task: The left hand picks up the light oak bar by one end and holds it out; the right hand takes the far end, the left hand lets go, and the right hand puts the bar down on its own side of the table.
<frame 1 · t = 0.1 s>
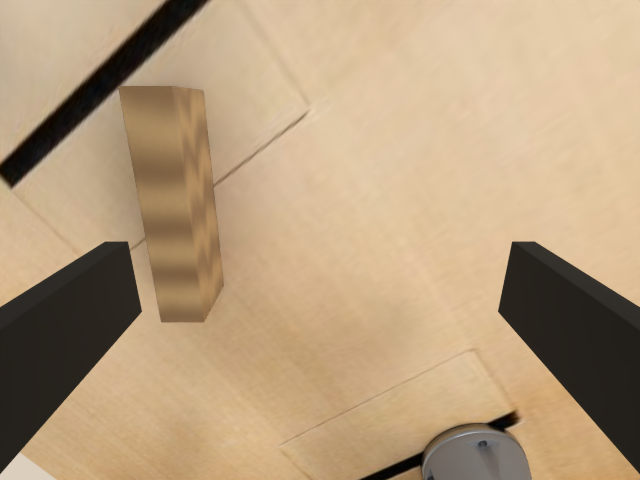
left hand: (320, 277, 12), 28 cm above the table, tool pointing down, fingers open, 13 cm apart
bar: (194, 197, 40), on the table
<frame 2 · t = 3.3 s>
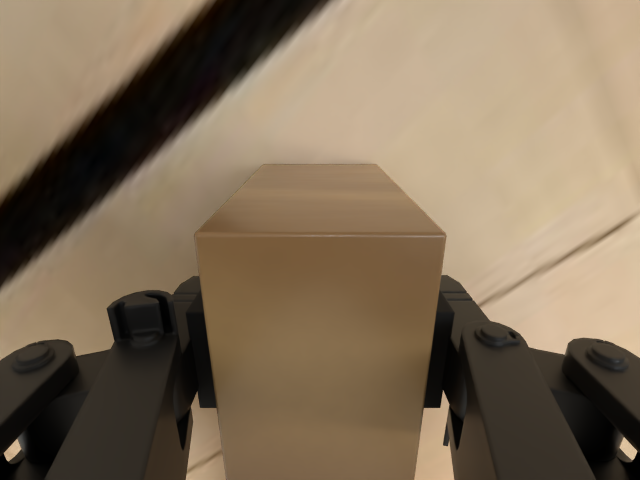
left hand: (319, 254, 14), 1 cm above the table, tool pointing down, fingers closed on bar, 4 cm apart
bar: (320, 392, 17), on the table, touching left hand
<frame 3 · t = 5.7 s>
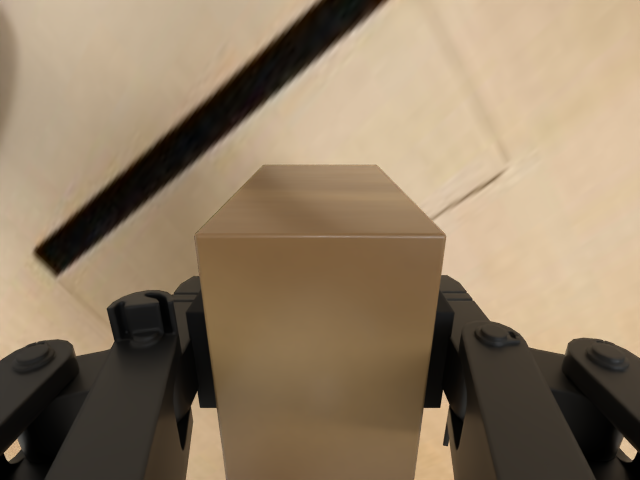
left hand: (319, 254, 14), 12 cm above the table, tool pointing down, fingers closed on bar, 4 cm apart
bar: (320, 392, 17), point 11 cm above the table, touching left hand
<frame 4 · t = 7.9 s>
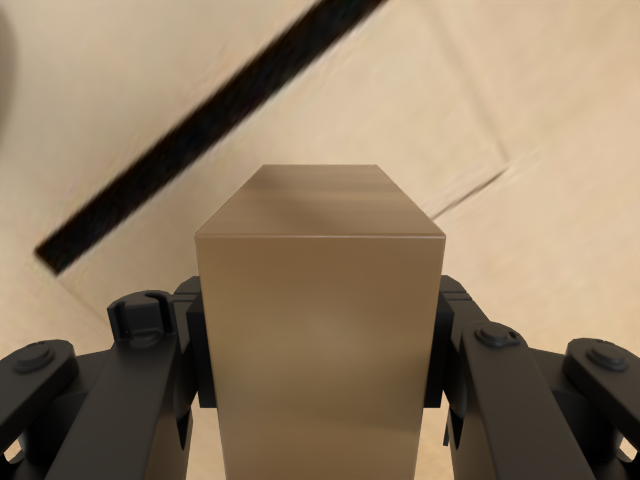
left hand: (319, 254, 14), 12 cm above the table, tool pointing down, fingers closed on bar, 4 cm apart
bar: (319, 392, 17), point 11 cm above the table, touching left hand, right hand
when the left hand's fingers open (12 cm above the table, at t = 8.4 s): bar stays where it is, held by the right hand.
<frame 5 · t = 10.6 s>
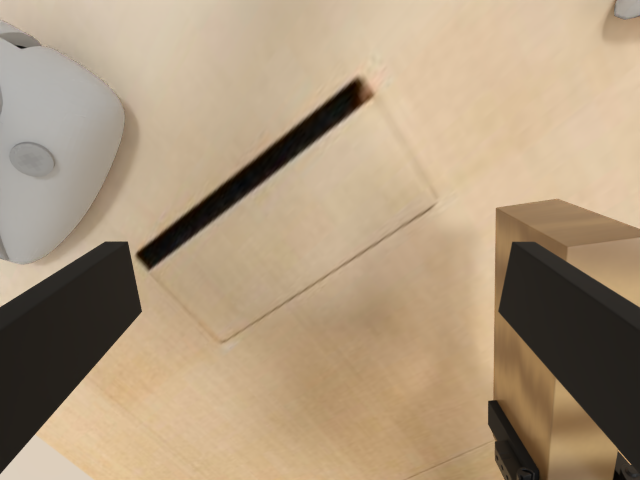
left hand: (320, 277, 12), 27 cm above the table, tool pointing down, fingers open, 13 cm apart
projector: (44, 157, 38), on the table
bar: (520, 332, 29), point 13 cm above the table, touching right hand
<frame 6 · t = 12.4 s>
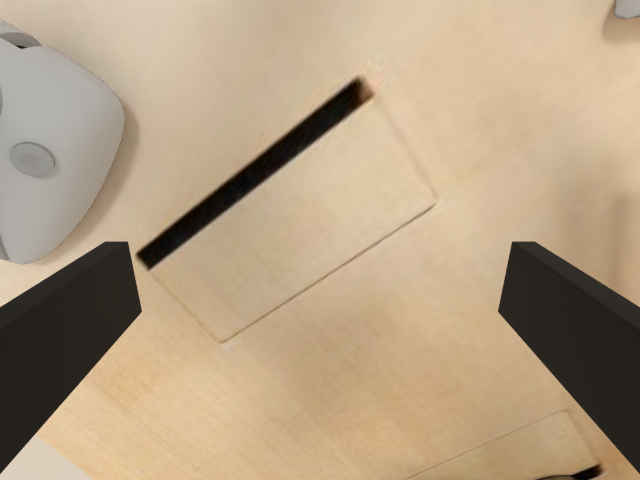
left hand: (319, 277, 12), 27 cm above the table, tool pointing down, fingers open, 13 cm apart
projector: (44, 157, 38), on the table
when the right hand's fingers open (2 cm above the table, at t = 13.6 s): bar drops 2 cm, on the table.
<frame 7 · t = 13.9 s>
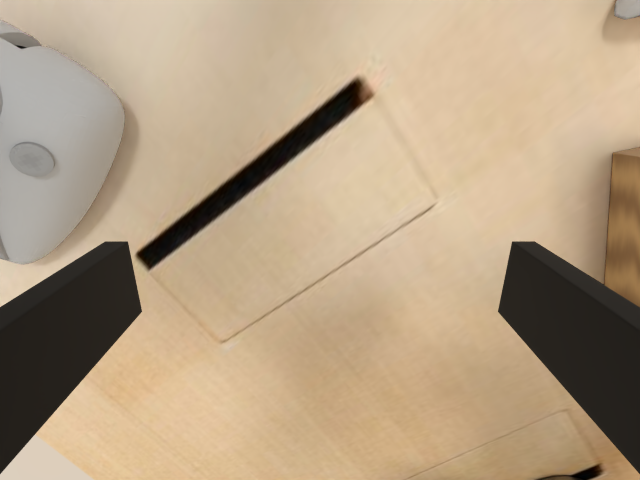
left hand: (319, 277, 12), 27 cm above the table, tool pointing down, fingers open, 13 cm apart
projector: (44, 157, 38), on the table
bar: (626, 244, 41), on the table
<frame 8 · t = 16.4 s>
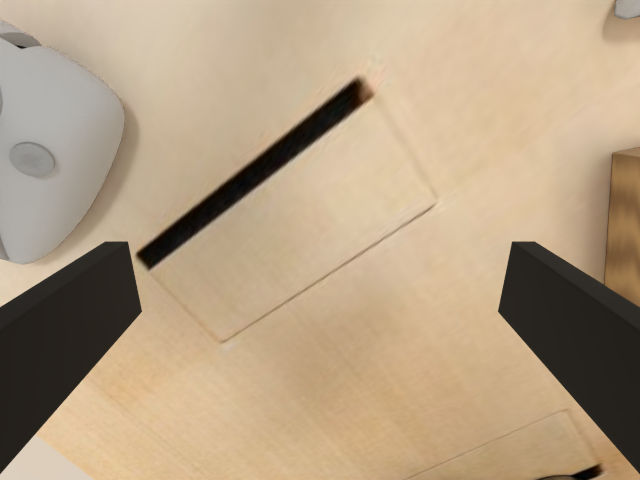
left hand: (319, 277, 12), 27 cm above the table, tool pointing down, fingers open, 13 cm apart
projector: (44, 157, 38), on the table
bar: (626, 244, 41), on the table
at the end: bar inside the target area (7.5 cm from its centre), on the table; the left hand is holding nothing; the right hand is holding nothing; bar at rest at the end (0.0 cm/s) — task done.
